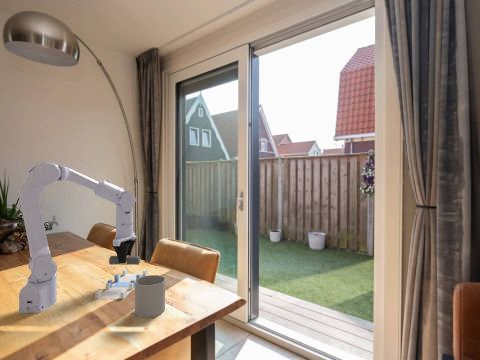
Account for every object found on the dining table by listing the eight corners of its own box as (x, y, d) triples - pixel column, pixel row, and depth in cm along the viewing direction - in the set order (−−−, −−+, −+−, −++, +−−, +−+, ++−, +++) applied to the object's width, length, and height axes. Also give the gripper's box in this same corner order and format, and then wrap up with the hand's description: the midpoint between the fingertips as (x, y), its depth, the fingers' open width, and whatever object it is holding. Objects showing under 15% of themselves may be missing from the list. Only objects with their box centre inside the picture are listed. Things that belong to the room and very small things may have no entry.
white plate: (123, 302, 91) (123, 290, 91) (94, 301, 91) (94, 290, 91) (147, 276, 115) (147, 267, 115) (124, 276, 115) (125, 267, 115)
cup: (154, 305, 89) (154, 273, 89) (170, 313, 84) (171, 279, 84) (129, 315, 83) (129, 280, 83) (145, 324, 77) (145, 287, 77)
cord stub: (140, 263, 105) (140, 254, 105) (137, 266, 102) (137, 257, 102) (112, 263, 105) (112, 254, 105) (108, 265, 102) (108, 256, 102)
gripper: (127, 227, 96) (127, 267, 96) (142, 220, 110) (142, 256, 110) (106, 227, 96) (106, 267, 96) (124, 220, 110) (124, 255, 110)
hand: (124, 261), depth 103 cm, fingers closed on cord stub, 3 cm apart
